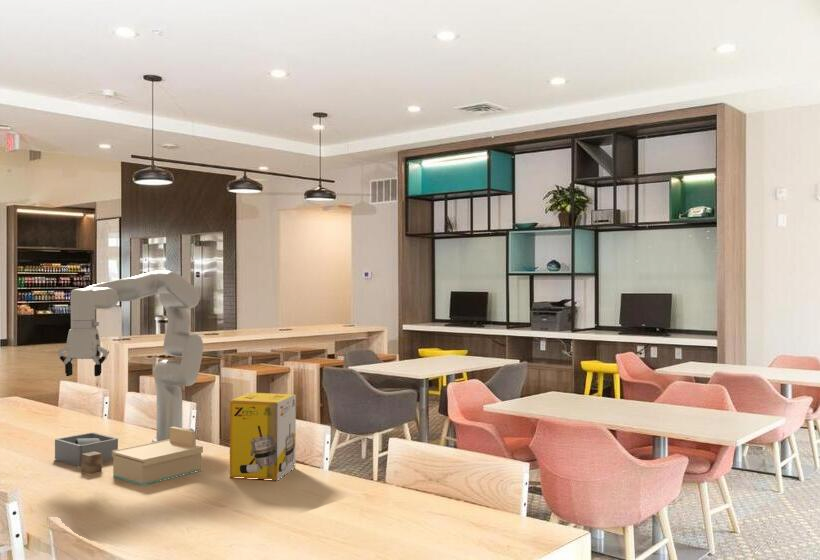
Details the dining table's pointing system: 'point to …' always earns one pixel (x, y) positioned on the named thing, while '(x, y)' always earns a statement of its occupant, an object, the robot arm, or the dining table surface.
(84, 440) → the ceramic mug
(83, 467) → the walnut block
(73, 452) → the coaster tray
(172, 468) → the base
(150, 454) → the lid
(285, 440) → the packaging box
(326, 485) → the dining table surface
